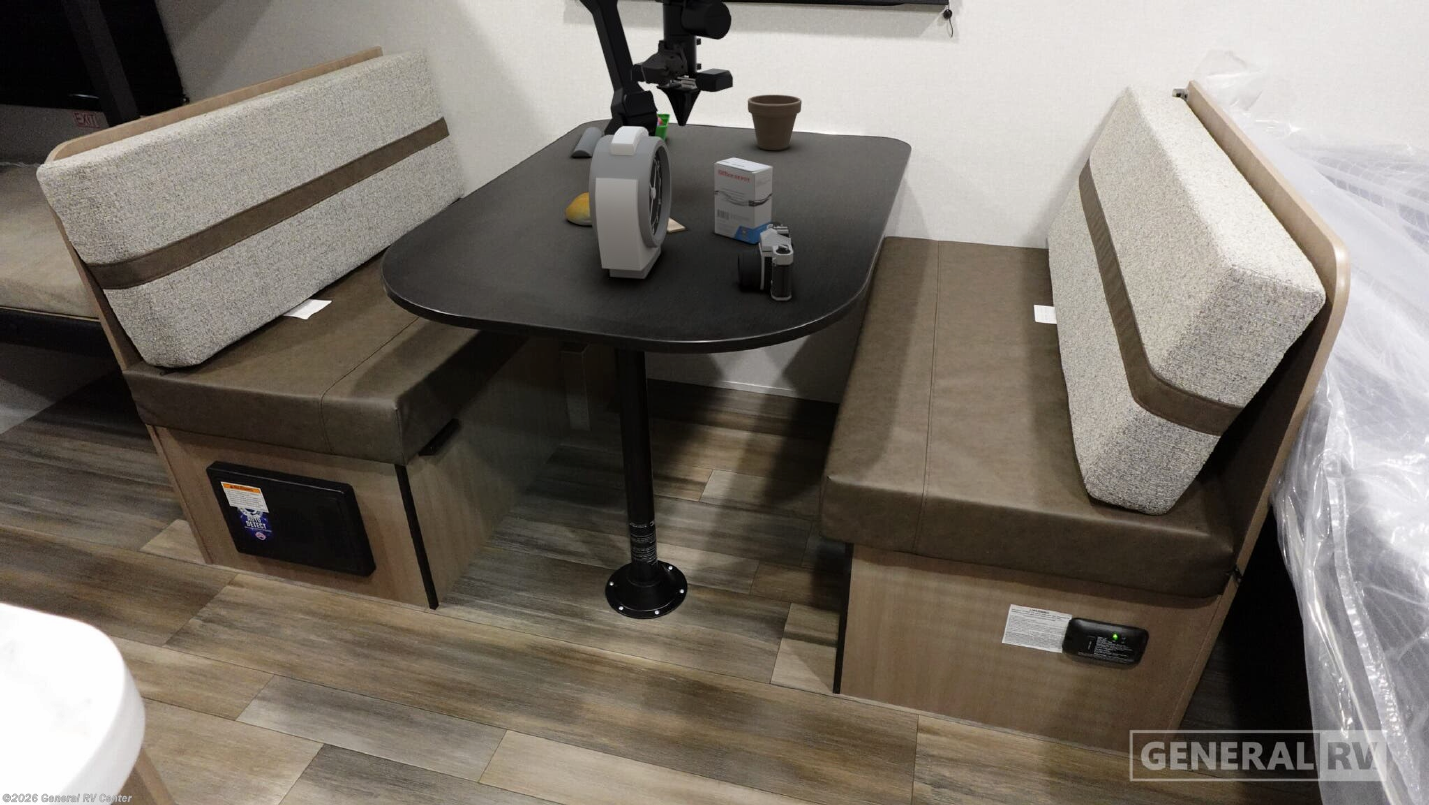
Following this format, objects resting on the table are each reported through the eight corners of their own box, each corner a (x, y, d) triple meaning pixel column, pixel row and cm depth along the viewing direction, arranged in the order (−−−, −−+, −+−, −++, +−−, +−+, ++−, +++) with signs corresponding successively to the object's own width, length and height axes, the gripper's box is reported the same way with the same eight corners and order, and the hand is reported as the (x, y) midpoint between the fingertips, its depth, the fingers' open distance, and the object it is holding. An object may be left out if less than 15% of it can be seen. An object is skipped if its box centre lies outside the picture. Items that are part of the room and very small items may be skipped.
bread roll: (561, 225, 149) (558, 202, 147) (577, 208, 157) (575, 186, 154) (608, 228, 148) (606, 205, 146) (622, 210, 155) (621, 188, 153)
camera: (733, 266, 133) (732, 210, 128) (784, 264, 133) (786, 208, 128) (742, 309, 122) (743, 249, 117) (798, 306, 123) (800, 246, 118)
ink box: (772, 237, 144) (774, 165, 138) (753, 245, 141) (754, 171, 134) (733, 225, 149) (733, 155, 143) (713, 233, 145) (712, 161, 139)
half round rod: (570, 158, 184) (569, 149, 183) (584, 134, 201) (583, 126, 200) (590, 158, 184) (590, 149, 183) (602, 134, 201) (602, 126, 200)
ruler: (628, 206, 158) (628, 203, 157) (643, 203, 159) (643, 201, 159) (669, 232, 146) (669, 230, 145) (685, 229, 147) (685, 227, 147)
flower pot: (765, 137, 198) (766, 90, 193) (809, 144, 193) (811, 97, 187) (736, 148, 190) (736, 100, 185) (781, 156, 185) (782, 107, 179)
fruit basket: (668, 150, 190) (666, 95, 184) (627, 150, 190) (624, 95, 184) (671, 136, 199) (669, 84, 194) (632, 136, 199) (629, 84, 194)
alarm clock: (648, 289, 126) (642, 147, 115) (591, 285, 127) (579, 144, 117) (675, 244, 141) (671, 115, 130) (624, 241, 142) (616, 113, 132)
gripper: (607, 34, 150) (613, 127, 158) (695, 44, 140) (697, 142, 148) (649, 26, 158) (652, 115, 166) (735, 35, 148) (734, 129, 156)
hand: (682, 125), depth 159 cm, fingers closed
